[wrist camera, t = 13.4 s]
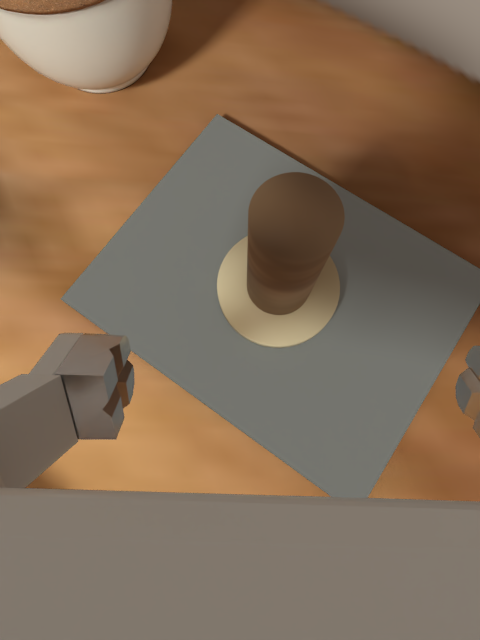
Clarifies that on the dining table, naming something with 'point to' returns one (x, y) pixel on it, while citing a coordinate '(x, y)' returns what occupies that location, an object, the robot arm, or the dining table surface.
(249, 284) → the brown peg on disc
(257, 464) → the dining table surface
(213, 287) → the mat
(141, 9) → the lidded jar
